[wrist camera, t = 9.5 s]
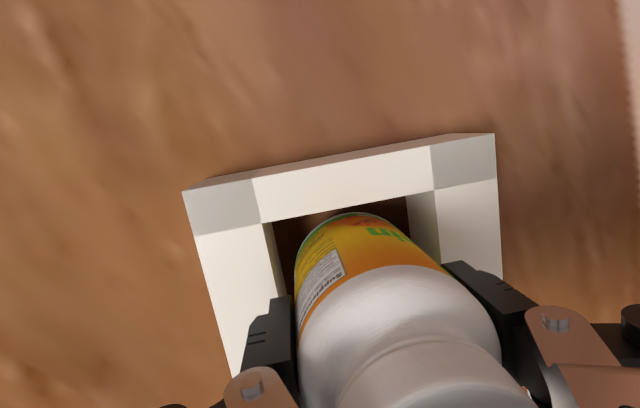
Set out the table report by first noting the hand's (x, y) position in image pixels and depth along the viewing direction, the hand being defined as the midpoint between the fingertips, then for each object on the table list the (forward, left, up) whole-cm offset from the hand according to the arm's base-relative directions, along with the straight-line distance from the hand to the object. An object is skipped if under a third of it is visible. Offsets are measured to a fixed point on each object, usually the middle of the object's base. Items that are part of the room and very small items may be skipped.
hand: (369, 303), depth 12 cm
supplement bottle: (0, 0, -4) cm, 4 cm away
